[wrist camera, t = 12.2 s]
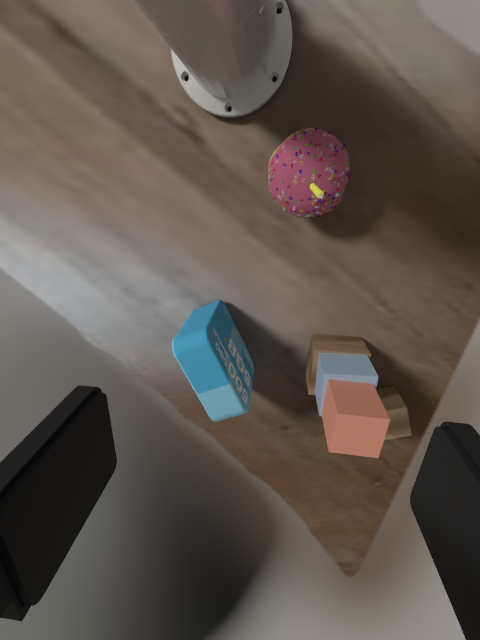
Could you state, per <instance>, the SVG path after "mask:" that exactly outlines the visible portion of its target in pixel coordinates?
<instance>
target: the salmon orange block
mask: <svg viewBox="0 0 480 640" xmlns="http://www.w3.org/2000/svg"><path fill="white" fill-rule="evenodd" d="M321 414H322V419H323V424H324V429H325V434H326V439H327V444H328V450H329V452H333V453H342V454H350V455H358V456H366V457H374V458H379V454H380V451H381V448H382V445H383V441H384V438H385V435H386V432H387V429H388V425H389V422H390V418H389V416H388V414H387V412H386V410H385V408H384V406H383V404H382V402H381V399H380V397H379V395H378V393H377V391H376V389H375V387H374V385H373V384H370V383H361V382H351V381H342V380H333V379H328V383H327V388H326V393H325V398H324V403H323V408H322V413H321Z"/></svg>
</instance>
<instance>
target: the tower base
mask: <svg viewBox="0 0 480 640" xmlns="http://www.w3.org/2000/svg"><path fill="white" fill-rule="evenodd" d="M319 353H338V354H362V355H367V356H368V358H369V360H370V357H371V353H370V351H369V350H368V348H367V346H366V344H365V343H364V341H363V339H362V337H350V336H338V335H325V334H312V333H311V339H310V346H309V354H308V361H307V368H306V382H307V388H308V394H309V395H315V385H316V375H317V365H318V354H319Z"/></svg>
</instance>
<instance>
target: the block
mask: <svg viewBox="0 0 480 640" xmlns="http://www.w3.org/2000/svg"><path fill="white" fill-rule="evenodd" d="M376 391H377V393H378V395H379V397H380V399H381V402H382V404H383V406H384V408H385V410H386V412H387V414H388V416H389V418H390V422H389V425H388V429H387V432H386V435H385V438H384V440H387V439H393V438H400V437H406V436H412V435H411V429H410V423H409V417H408V411H407V407H406V405H405V403H404V401H403V400H402V398H401V396H400V395H399V393H398V391H397V389H396V388H395V386H392V387H387V388H381V389H376Z"/></svg>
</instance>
